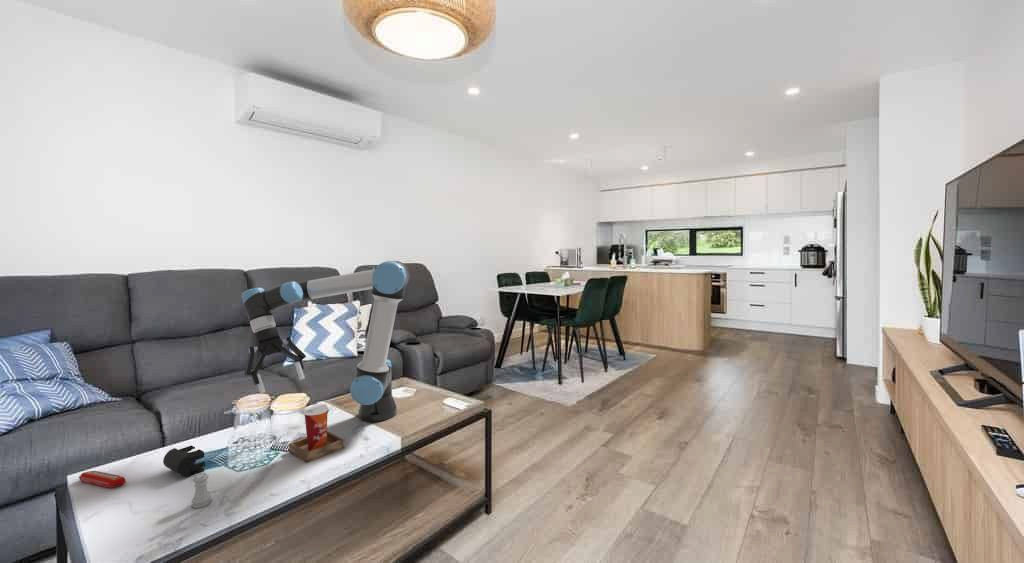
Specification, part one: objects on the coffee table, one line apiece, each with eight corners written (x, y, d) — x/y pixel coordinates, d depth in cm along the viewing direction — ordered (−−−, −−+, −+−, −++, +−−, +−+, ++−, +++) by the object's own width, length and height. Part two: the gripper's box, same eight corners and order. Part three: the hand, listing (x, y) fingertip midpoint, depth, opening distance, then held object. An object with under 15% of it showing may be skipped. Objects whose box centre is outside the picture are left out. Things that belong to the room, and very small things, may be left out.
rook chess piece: (189, 510, 107) (187, 481, 107) (194, 501, 111) (192, 472, 111) (209, 506, 109) (208, 477, 109) (214, 497, 113) (212, 469, 113)
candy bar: (128, 484, 120) (128, 474, 120) (113, 491, 117) (113, 481, 117) (91, 476, 125) (91, 467, 125) (76, 483, 121) (75, 473, 121)
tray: (326, 438, 149) (326, 430, 149) (344, 448, 142) (344, 439, 142) (289, 452, 139) (288, 443, 139) (306, 463, 132) (305, 453, 132)
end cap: (163, 473, 126) (162, 451, 126) (190, 463, 132) (189, 442, 132) (178, 482, 121) (177, 459, 121) (206, 471, 127) (204, 450, 127)
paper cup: (320, 453, 136) (318, 412, 135) (299, 451, 138) (298, 410, 137) (334, 443, 144) (333, 403, 143) (315, 441, 145) (313, 402, 145)
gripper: (295, 324, 162) (313, 376, 160) (222, 342, 142) (241, 400, 140) (303, 319, 157) (321, 371, 155) (228, 336, 138) (248, 396, 136)
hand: (283, 385), depth 148 cm, fingers open, 13 cm apart
